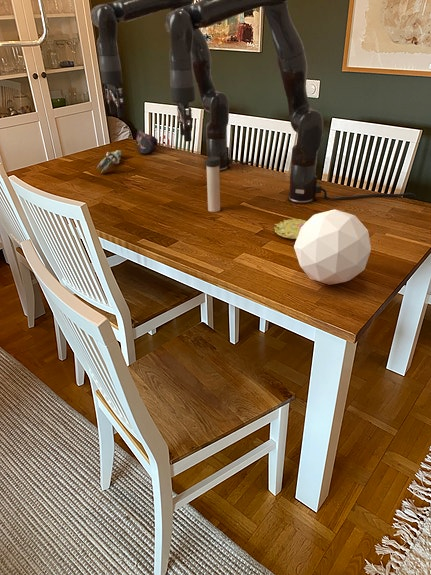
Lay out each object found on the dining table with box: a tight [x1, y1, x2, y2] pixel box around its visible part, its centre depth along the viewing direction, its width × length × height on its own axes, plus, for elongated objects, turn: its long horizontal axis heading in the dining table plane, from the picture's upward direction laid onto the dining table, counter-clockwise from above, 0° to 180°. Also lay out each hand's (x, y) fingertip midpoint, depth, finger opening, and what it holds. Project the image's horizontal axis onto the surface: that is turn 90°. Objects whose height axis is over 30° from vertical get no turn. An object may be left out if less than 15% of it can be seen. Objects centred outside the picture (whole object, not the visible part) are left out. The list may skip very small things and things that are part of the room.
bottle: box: [205, 165, 221, 213], centre depth 160 cm, size 5×5×19 cm
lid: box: [204, 156, 220, 167], centre depth 155 cm, size 5×5×2 cm
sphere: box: [293, 208, 372, 286], centre depth 116 cm, size 19×20×20 cm
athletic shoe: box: [135, 130, 162, 155], centre depth 233 cm, size 11×22×12 cm
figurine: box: [96, 150, 123, 174], centre depth 213 cm, size 7×8×30 cm
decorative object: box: [273, 218, 308, 240], centre depth 145 cm, size 21×2×20 cm
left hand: (117, 115), depth 171 cm, fingers open, 8 cm apart
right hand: (185, 138), depth 147 cm, fingers open, 8 cm apart
